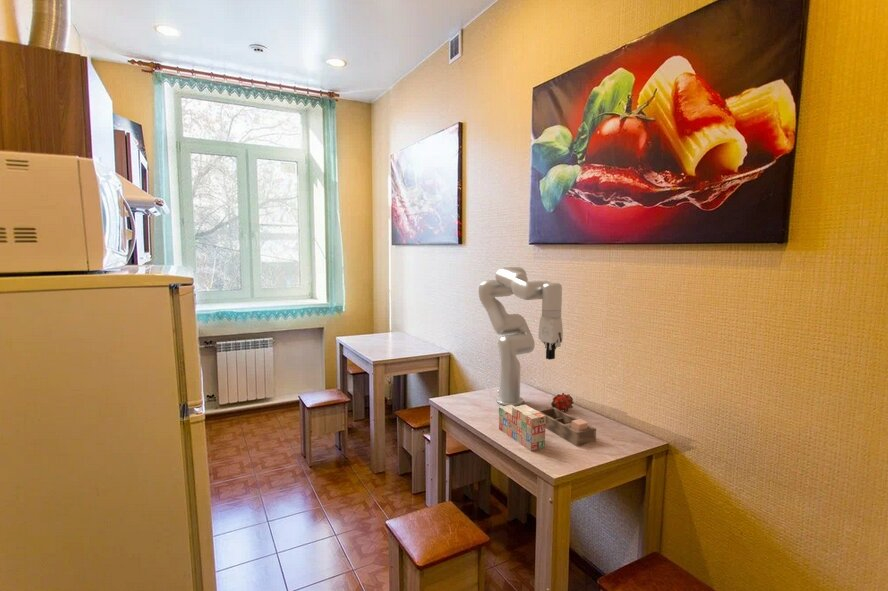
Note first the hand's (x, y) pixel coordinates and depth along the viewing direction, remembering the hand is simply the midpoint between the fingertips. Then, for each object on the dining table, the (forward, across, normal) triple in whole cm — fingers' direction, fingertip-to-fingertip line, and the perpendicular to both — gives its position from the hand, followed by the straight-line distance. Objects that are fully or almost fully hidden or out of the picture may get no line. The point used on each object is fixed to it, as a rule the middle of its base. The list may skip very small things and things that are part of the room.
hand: (550, 358), depth 176 cm
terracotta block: (+24, +18, 0) cm, 30 cm away
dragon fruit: (+27, -8, +14) cm, 31 cm away
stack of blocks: (+27, +7, -19) cm, 34 cm away
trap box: (+27, +10, 0) cm, 29 cm away
